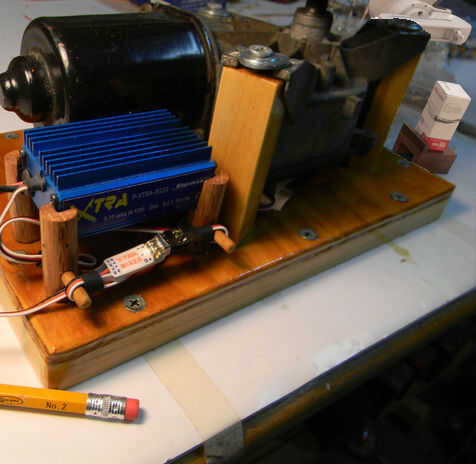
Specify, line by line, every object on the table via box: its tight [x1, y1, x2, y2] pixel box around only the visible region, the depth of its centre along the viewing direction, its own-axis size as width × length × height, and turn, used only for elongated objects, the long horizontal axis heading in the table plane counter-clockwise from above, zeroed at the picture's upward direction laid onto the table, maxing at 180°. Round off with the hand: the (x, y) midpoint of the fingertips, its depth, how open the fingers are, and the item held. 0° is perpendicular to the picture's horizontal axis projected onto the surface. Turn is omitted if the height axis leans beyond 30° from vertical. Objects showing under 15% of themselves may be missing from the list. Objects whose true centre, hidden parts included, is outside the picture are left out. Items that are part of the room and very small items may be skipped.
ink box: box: [414, 80, 472, 152], centre depth 98 cm, size 9×5×12 cm, turn 168°
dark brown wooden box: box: [392, 122, 458, 175], centre depth 102 cm, size 8×10×6 cm
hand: (439, 39), depth 100 cm, fingers open, 8 cm apart
